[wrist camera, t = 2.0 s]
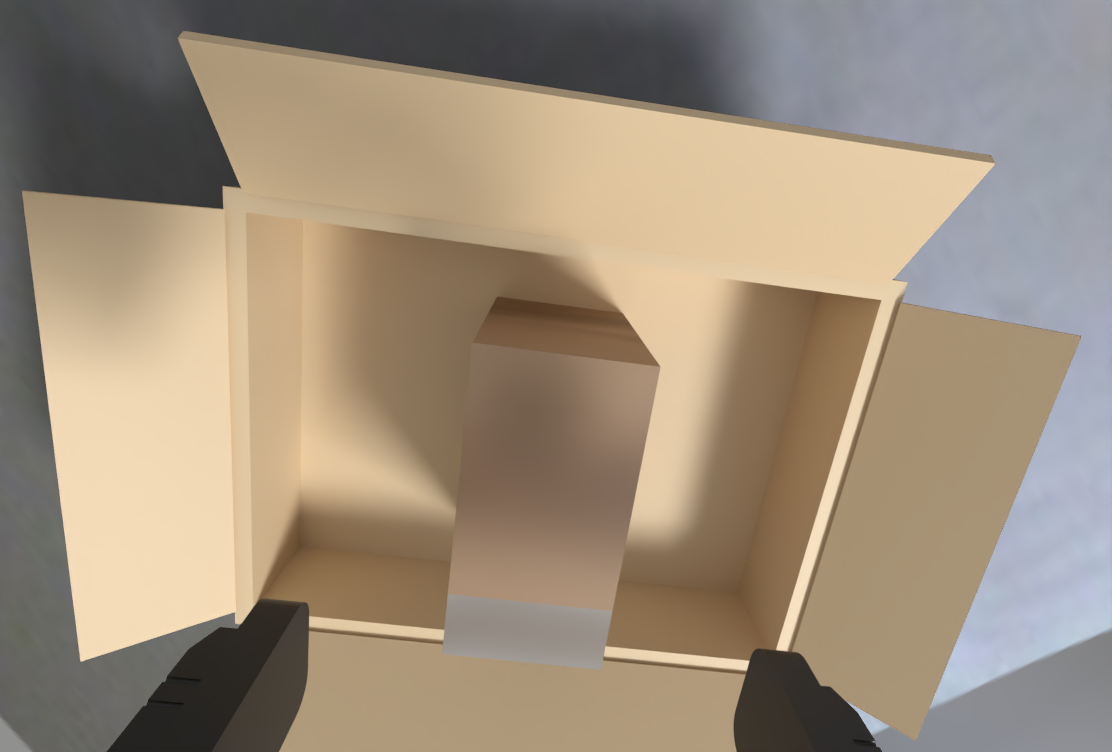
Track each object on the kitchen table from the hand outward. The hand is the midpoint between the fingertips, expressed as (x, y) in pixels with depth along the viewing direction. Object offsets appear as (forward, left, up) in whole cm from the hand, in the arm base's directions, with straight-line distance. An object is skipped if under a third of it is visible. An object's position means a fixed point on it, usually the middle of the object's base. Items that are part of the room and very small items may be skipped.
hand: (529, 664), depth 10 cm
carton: (0, 0, -12) cm, 12 cm away
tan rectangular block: (0, 0, -12) cm, 12 cm away
